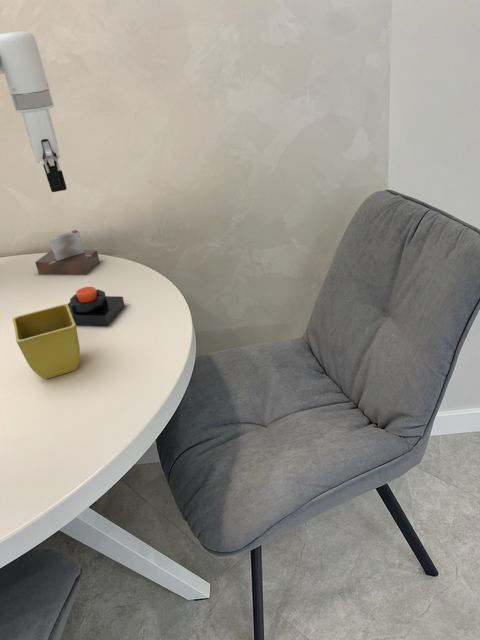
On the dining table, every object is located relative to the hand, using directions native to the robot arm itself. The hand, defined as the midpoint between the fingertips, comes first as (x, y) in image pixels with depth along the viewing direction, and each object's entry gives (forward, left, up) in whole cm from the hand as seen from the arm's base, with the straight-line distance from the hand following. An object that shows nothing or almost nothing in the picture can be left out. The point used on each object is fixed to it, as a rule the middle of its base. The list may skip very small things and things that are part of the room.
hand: (57, 185), depth 120 cm
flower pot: (+19, -44, -18) cm, 51 cm away
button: (+16, -26, -15) cm, 34 cm away
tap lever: (+1, -4, -15) cm, 15 cm away
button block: (+16, -26, -18) cm, 35 cm away
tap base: (-1, -4, -18) cm, 18 cm away
